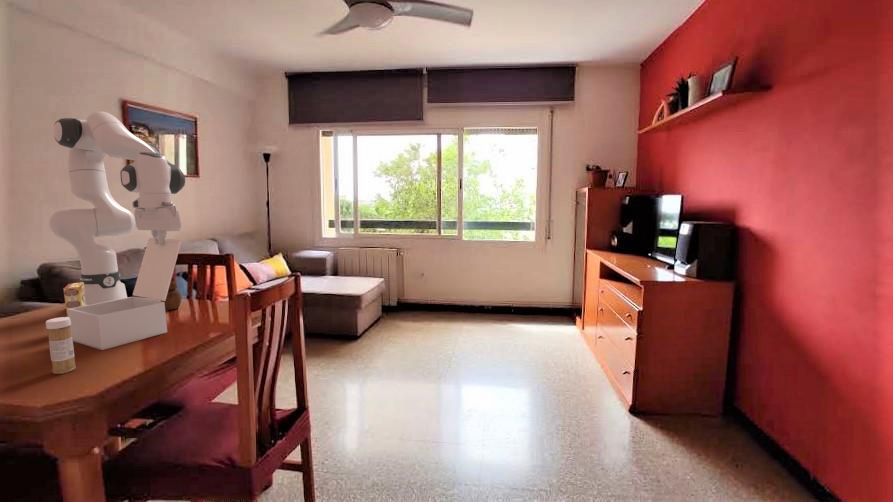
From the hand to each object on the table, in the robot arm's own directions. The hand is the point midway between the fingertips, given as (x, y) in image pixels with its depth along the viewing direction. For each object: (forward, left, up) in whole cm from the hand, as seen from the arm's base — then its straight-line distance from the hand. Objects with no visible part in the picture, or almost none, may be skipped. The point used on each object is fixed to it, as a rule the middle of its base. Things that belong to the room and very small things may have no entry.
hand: (160, 244), depth 145 cm
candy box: (-19, -17, -28) cm, 38 cm away
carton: (0, -14, -28) cm, 31 cm away
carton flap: (0, -2, -8) cm, 8 cm away
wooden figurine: (-20, +13, -28) cm, 36 cm away
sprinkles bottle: (+18, -35, -28) cm, 48 cm away
